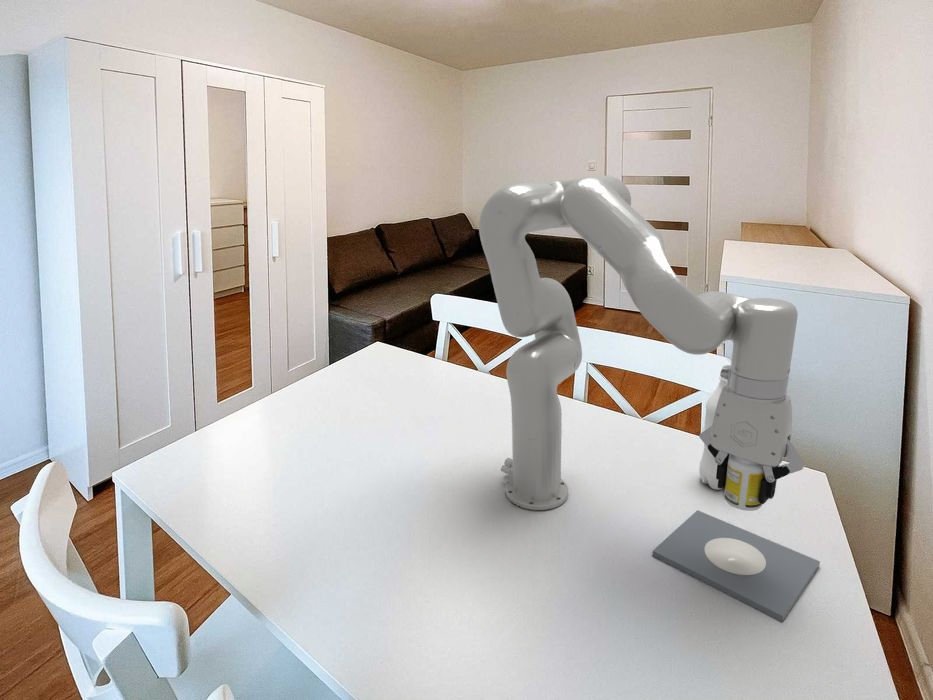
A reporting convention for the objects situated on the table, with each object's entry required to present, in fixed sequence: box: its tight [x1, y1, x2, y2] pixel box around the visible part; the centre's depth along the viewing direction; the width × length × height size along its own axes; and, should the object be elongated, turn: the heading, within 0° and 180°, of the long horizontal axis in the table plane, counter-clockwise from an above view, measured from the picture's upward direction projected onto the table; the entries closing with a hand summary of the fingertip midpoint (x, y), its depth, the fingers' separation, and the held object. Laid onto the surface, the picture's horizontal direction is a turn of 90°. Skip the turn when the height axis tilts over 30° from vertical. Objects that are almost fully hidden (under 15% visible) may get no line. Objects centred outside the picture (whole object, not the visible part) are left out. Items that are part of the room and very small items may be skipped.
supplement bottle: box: [723, 455, 765, 512], centre depth 84 cm, size 5×5×10 cm
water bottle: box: [698, 364, 731, 491], centre depth 107 cm, size 7×7×25 cm
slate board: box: [651, 509, 821, 623], centre depth 89 cm, size 20×16×1 cm
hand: (743, 491), depth 85 cm, fingers closed on supplement bottle, 5 cm apart
